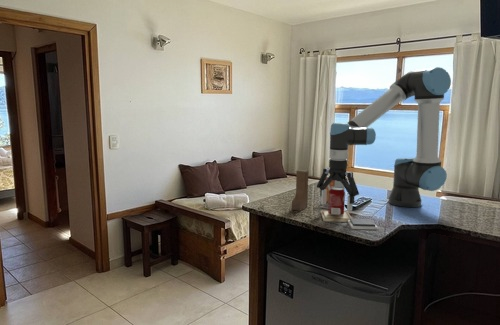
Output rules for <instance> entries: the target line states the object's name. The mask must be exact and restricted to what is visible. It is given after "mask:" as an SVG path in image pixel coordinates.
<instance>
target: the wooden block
mask: <svg viewBox="0 0 500 325" xmlns="http://www.w3.org/2000/svg"><path fill="white" fill-rule="evenodd" d="M295 176H296V178H295V180H296V183H295V185H296V186H295V195H294V198H293V199H292V200H291V210H292V211H298V212H302V210H304V209H306V208H307V207H308V201H309V199H308V197H309V196H308V195H309V170H308V169H298V170H296V175H295Z"/></svg>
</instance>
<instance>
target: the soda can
mask: <svg viewBox="0 0 500 325" xmlns="http://www.w3.org/2000/svg"><path fill="white" fill-rule="evenodd" d="M343 189H344V188H343V187H331V189H330V191H329V202H328V203H327V205H328V206H327V207H328V213H329V214H330V215H332V216H341V215H343V214H344V211H345V200H346V198H345V197H346V192H345V189H344V190H343Z"/></svg>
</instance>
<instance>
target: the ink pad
mask: <svg viewBox="0 0 500 325" xmlns="http://www.w3.org/2000/svg"><path fill="white" fill-rule="evenodd" d="M347 223H348V225H349V227H350V229H351V230H373V231H374V230H378V229H379V227H378V225H377V224H376V223H375V222H374V221H373V219H370V218H369V219H368V218H352V219H350V220H348V222H347Z"/></svg>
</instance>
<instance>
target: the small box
mask: <svg viewBox="0 0 500 325" xmlns="http://www.w3.org/2000/svg"><path fill="white" fill-rule="evenodd" d="M329 176H330V175H327V177H326V179H325V181H326V180H327V179H328V177H329ZM343 180H344V179H343ZM325 181H324V182H325ZM331 187H343V188H344V189H343V190H344V191H345V190H346V189H345V187H344V186H343V184H342V183H341V182H340V181H336V180H332V181H331V182H330V184H329V185H328V186H327V187H326V190H327V197H326V203H329V191H330V189H331Z"/></svg>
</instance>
